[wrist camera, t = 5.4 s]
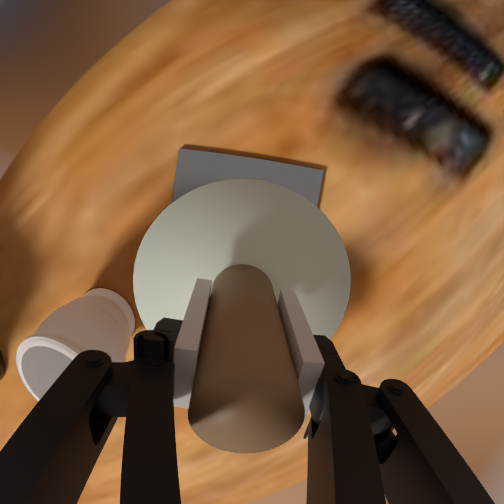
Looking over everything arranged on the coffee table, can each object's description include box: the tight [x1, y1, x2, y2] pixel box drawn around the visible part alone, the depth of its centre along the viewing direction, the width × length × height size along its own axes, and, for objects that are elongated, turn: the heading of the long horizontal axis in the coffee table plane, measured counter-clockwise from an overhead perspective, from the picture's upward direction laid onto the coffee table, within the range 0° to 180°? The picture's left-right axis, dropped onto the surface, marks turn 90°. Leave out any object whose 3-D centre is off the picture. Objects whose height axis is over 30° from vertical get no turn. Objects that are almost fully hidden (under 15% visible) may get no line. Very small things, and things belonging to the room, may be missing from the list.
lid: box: [133, 178, 351, 453], centre depth 14 cm, size 13×13×11 cm
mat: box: [172, 148, 324, 206], centre depth 36 cm, size 16×16×1 cm
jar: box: [16, 288, 135, 402], centre depth 31 cm, size 11×10×15 cm
